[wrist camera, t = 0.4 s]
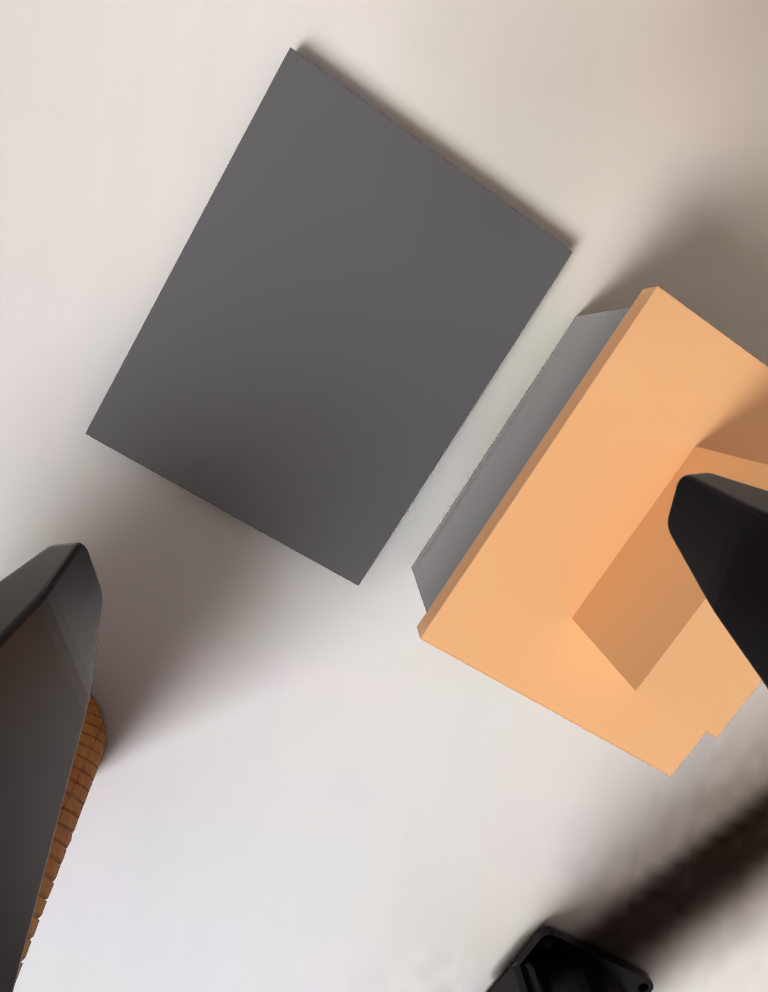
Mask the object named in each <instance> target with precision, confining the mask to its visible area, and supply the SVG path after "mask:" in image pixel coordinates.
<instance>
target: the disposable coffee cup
mask: <svg viewBox="0 0 768 992" xmlns="http://www.w3.org/2000/svg"><path fill="white" fill-rule="evenodd" d="M105 745H106V727H105V724H104V721H103V718H102V714H101V711H100V709H99V707H98V705H97V704H96V702H95V700H94V699H93V698H92V696H91V695H90V697H89V702H88V706H87V711H86V715H85V719H84V723H83V727H82V730H81V734H80V738H79V742H78V746H77V750H76V753H75V757H74V761H73V765H72V769H71V772H70V776H69V780H68V784H67V788H66V791H65V795H64V799H63V803H62V807H61V810H60V814H59V818H58V822H57V826H56V830H55V833H54V837H53V841H52V845H51V849H50V852H49V856H48V860H47V864H46V868H45V871H44V875H43V879H42V883H41V887H40V890H39V894H38V898H37V902H36V906H35V910H34V913H33V917H32V921H31V925H30V929H29V932H28V936H27V940H26V944H25V948H24V951H23V955H22V959H21V961H22V960H23V959H24V958H25V957H26V954H27V952H28V949H29V946H30V944H31V941H30V939H31V938H32V937H33V936H34V934H35V931H36V928H37V925H38V923H39V920H38V918H39V917H40V916H41V915H42V913H43V910H44V907H45V905H46V902H47V901H46V900H45V899H48V897H49V894H50V892H51V890H52V887H53V885H54V884H53V882H52V881H54V880H55V878H56V876H57V874H58V871H59V868H60V865H59V864H61V863H62V861H63V858H64V855H65V852H66V848H67V847H68V845H69V843H70V841H71V838H72V833H73V831H74V830H75V827H76V824H77V821H78V820H77V819H78V818H79V816H80V814H81V811H82V808H83V805H84V803H85V801H86V798H87V795H88V792H89V790H90V787H91V785H92V781H93V780H94V777H95V775H96V772H97V769H98V767H99V764H100V762H101V760H102V757H103V754H104V751H105ZM21 967H22V963H20V967H19V970H18V974H17V977H18V975H19V972H20V969H21ZM16 980H17V978H16Z"/></svg>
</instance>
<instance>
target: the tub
mask: <svg viewBox="0 0 768 992" xmlns="http://www.w3.org/2000/svg"><path fill="white" fill-rule="evenodd" d="M630 308H631V307H628V308H622V309H616V310H610V311H604V312H598V313H592V314H585V315H579V316H576V317H575V319H574V320H573V322H572V324H571V325H570V327H569V328H568V330H567V331H566V333H565V334H564V336H563V337H562V339H561V340H560V342H559V343H558V345H557V346H556V348H555V349H554V351H553V353H552V354H551V356H550V357H549V359H548V360H547V362H546V363H545V365H544V366H543V368H542V369H541V371H540V372H539V374H538V375H537V377H536V378H535V380H534V382H533V383H532V385H531V386H530V388H529V389H528V391H527V392H526V394H525V395H524V397H523V398H522V400H521V401H520V403H519V404H518V406H517V408H516V409H515V411H514V412H513V414H512V415H511V417H510V418H509V420H508V421H507V423H506V424H505V426H504V427H503V429H502V430H501V432H500V433H499V435H498V437H497V438H496V440H495V441H494V443H493V444H492V446H491V447H490V449H489V450H488V452H487V453H486V455H485V456H484V458H483V459H482V461H481V462H480V464H479V466H478V467H477V469H476V470H475V472H474V473H473V475H472V476H471V478H470V479H469V481H468V482H467V484H466V485H465V487H464V488H463V490H462V491H461V493H460V495H459V496H458V498H457V499H456V501H455V502H454V504H453V505H452V507H451V508H450V510H449V511H448V513H447V514H446V516H445V517H444V519H443V521H442V522H441V524H440V525H439V527H438V528H437V530H436V531H435V533H434V534H433V536H432V537H431V539H430V540H429V542H428V543H427V545H426V546H425V548H424V550H423V551H422V553H421V554H420V556H419V557H418V559H417V560H416V562H415V563H414V565H413V566H412V570H413V573H414V576H415V579H416V582H417V585H418V588H419V591H420V594H421V597H422V600H423V603H424V606H425V609H426V612H427V611H428V610H429V608H430V607H431V605H432V604H433V602H434V601H435V599H436V598H437V596H438V595H439V593H440V592H441V590H442V589H443V587H444V586H445V584H446V583H447V581H448V580H449V578H450V577H451V575H452V574H453V572H454V571H455V569H456V568H457V566H458V565H459V563H460V562H461V560H462V559H463V557H464V556H465V554H466V553H467V551H468V550H469V548H470V547H471V545H472V544H473V542H474V541H475V539H476V538H477V536H478V535H479V533H480V532H481V530H482V529H483V527H484V526H485V524H486V523H487V521H488V520H489V518H490V517H491V515H492V514H493V512H494V511H495V509H496V508H497V506H498V505H499V503H500V502H501V500H502V499H503V497H504V496H505V494H506V493H507V491H508V490H509V488H510V487H511V485H512V484H513V482H514V481H515V479H516V478H517V476H518V475H519V474H520V472H521V471H522V469H523V468H524V466H525V465H526V463H527V462H528V460H529V459H530V457H531V456H532V454H533V453H534V451H535V450H536V448H537V447H538V445H539V444H540V442H541V441H542V439H543V438H544V436H545V435H546V433H547V432H548V430H549V429H550V427H551V426H552V424H553V423H554V421H555V420H556V418H557V417H558V415H559V414H560V412H561V411H562V409H563V408H564V406H565V405H566V403H567V402H568V400H569V399H570V397H571V396H572V394H573V393H574V391H575V390H576V388H577V387H578V385H579V384H580V382H581V381H582V379H583V378H584V376H585V375H586V373H587V372H588V370H589V369H590V367H591V366H592V364H593V363H594V361H595V360H596V358H597V357H598V355H599V354H600V352H601V351H602V349H603V348H604V346H605V345H606V343H607V342H608V340H609V339H610V337H611V336H612V334H613V333H614V332H615V330H616V329H617V327H618V326H619V324H620V323H621V321H622V320H623V318H624V317H625V315H626V314H627V312H628V311H629V309H630Z"/></svg>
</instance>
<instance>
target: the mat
mask: <svg viewBox="0 0 768 992" xmlns="http://www.w3.org/2000/svg"><path fill="white" fill-rule="evenodd" d="M571 254H572V251H571V250H569V249H568V248H567V247H565V246H564V245H562V244H561V243H560V242H558V241H557V240H556V239H554V238H553V237H551V236H550V235H549V234H547V233H546V232H545V231H543V230H542V229H540V228H539V227H538V226H536V225H535V224H534V223H532V222H531V221H529V220H528V219H527V218H525V217H524V216H522V215H521V214H520V213H518V212H517V211H516V210H514V209H513V208H511V207H510V206H509V205H507V204H506V203H505V202H503V201H502V200H500V199H499V198H498V197H496V196H495V195H493V194H492V193H491V192H489V191H488V190H487V189H485V188H484V187H482V186H481V185H480V184H478V183H477V182H476V181H474V180H473V179H471V178H470V177H469V176H467V175H466V174H465V173H463V172H462V171H460V170H459V169H458V168H456V167H455V166H453V165H452V164H451V163H449V162H448V161H447V160H445V159H444V158H442V157H441V156H440V155H438V154H437V153H436V152H434V151H433V150H431V149H430V148H429V147H427V146H426V145H425V144H423V143H422V142H420V141H419V140H418V139H416V138H415V137H413V136H412V135H411V134H409V133H408V132H407V131H405V130H404V129H402V128H401V127H400V126H398V125H397V124H396V123H394V122H393V121H391V120H390V119H389V118H387V117H386V116H384V115H383V114H382V113H380V112H379V111H378V110H376V109H375V108H373V107H372V106H371V105H369V104H368V103H367V102H365V101H364V100H362V99H361V98H360V97H358V96H357V95H356V94H354V93H353V92H351V91H350V90H349V89H347V88H346V87H344V86H343V85H342V84H340V83H339V82H338V81H336V80H335V79H333V78H332V77H331V76H329V75H328V74H327V73H325V72H324V71H322V70H321V69H320V68H318V67H317V66H315V65H314V64H313V63H311V62H310V61H309V60H307V59H306V58H304V57H303V56H302V55H300V54H299V53H298V52H296V51H295V50H293V49H292V48H291V47H290V49H289V51H288V53H287V55H286V56H285V58H284V60H283V62H282V64H281V66H280V68H279V70H278V72H277V73H276V75H275V77H274V79H273V81H272V83H271V85H270V87H269V88H268V90H267V92H266V94H265V96H264V98H263V100H262V102H261V104H260V105H259V107H258V109H257V111H256V113H255V115H254V117H253V119H252V121H251V122H250V124H249V126H248V128H247V130H246V132H245V134H244V136H243V138H242V139H241V141H240V143H239V145H238V147H237V149H236V151H235V153H234V155H233V156H232V158H231V160H230V162H229V164H228V166H227V168H226V170H225V172H224V173H223V175H222V177H221V179H220V181H219V183H218V185H217V187H216V188H215V190H214V192H213V194H212V196H211V198H210V200H209V202H208V204H207V205H206V207H205V209H204V211H203V213H202V215H201V217H200V219H199V221H198V222H197V224H196V226H195V228H194V230H193V232H192V234H191V236H190V238H189V239H188V241H187V243H186V245H185V247H184V249H183V251H182V253H181V255H180V256H179V258H178V260H177V262H176V264H175V266H174V268H173V270H172V272H171V273H170V275H169V277H168V279H167V281H166V283H165V285H164V287H163V288H162V290H161V292H160V294H159V296H158V298H157V300H156V302H155V304H154V305H153V307H152V309H151V311H150V313H149V315H148V317H147V319H146V321H145V322H144V324H143V326H142V328H141V330H140V332H139V334H138V336H137V338H136V339H135V341H134V343H133V345H132V347H131V349H130V351H129V353H128V355H127V356H126V358H125V360H124V362H123V364H122V366H121V368H120V370H119V372H118V373H117V375H116V377H115V379H114V381H113V383H112V385H111V387H110V388H109V390H108V392H107V394H106V396H105V398H104V400H103V402H102V404H101V405H100V407H99V409H98V411H97V413H96V415H95V417H94V419H93V421H92V422H91V424H90V426H89V428H88V430H87V432H86V434H87V435H89V436H91V437H92V438H94V439H96V440H98V441H100V442H101V443H103V444H105V445H107V446H108V447H110V448H112V449H114V450H116V451H117V452H119V453H121V454H123V455H125V456H126V457H128V458H130V459H132V460H134V461H135V462H137V463H139V464H141V465H143V466H144V467H146V468H148V469H150V470H152V471H153V472H155V473H157V474H159V475H161V476H162V477H164V478H166V479H168V480H170V481H171V482H173V483H175V484H177V485H179V486H180V487H182V488H184V489H186V490H188V491H189V492H191V493H193V494H195V495H197V496H198V497H200V498H202V499H204V500H206V501H207V502H209V503H211V504H213V505H214V506H216V507H218V508H220V509H222V510H223V511H225V512H227V513H229V514H231V515H232V516H234V517H236V518H238V519H240V520H241V521H243V522H245V523H247V524H249V525H250V526H252V527H254V528H256V529H258V530H259V531H261V532H263V533H265V534H267V535H268V536H270V537H272V538H274V539H276V540H277V541H279V542H281V543H283V544H285V545H286V546H288V547H290V548H292V549H294V550H295V551H297V552H299V553H301V554H303V555H304V556H306V557H308V558H310V559H312V560H313V561H315V562H317V563H319V564H320V565H322V566H324V567H326V568H328V569H329V570H331V571H333V572H335V573H337V574H338V575H340V576H342V577H344V578H346V579H347V580H349V581H351V582H353V583H355V584H356V585H359V584H360V582H361V581H362V579H363V578H364V576H365V575H366V573H367V571H368V570H369V568H370V567H371V565H372V564H373V562H374V561H375V559H376V557H377V556H378V554H379V553H380V551H381V550H382V548H383V547H384V545H385V543H386V542H387V540H388V539H389V537H390V536H391V534H392V532H393V531H394V529H395V528H396V526H397V525H398V523H399V522H400V520H401V518H402V517H403V515H404V514H405V512H406V511H407V509H408V508H409V506H410V504H411V503H412V501H413V500H414V498H415V497H416V495H417V494H418V492H419V490H420V489H421V487H422V486H423V484H424V483H425V481H426V480H427V478H428V476H429V475H430V473H431V472H432V470H433V469H434V467H435V465H436V464H437V462H438V461H439V459H440V458H441V456H442V455H443V453H444V451H445V450H446V448H447V447H448V445H449V444H450V442H451V441H452V439H453V437H454V436H455V434H456V433H457V431H458V430H459V428H460V427H461V425H462V423H463V422H464V420H465V419H466V417H467V416H468V414H469V413H470V411H471V409H472V408H473V406H474V405H475V403H476V402H477V400H478V398H479V397H480V395H481V394H482V392H483V391H484V389H485V388H486V386H487V384H488V383H489V381H490V380H491V378H492V377H493V375H494V374H495V372H496V370H497V369H498V367H499V366H500V364H501V363H502V361H503V360H504V358H505V356H506V355H507V353H508V352H509V350H510V349H511V347H512V346H513V344H514V342H515V341H516V339H517V338H518V336H519V335H520V333H521V331H522V330H523V328H524V327H525V325H526V324H527V322H528V321H529V319H530V317H531V316H532V314H533V313H534V311H535V310H536V308H537V307H538V305H539V303H540V302H541V300H542V299H543V297H544V296H545V294H546V293H547V291H548V289H549V288H550V286H551V285H552V283H553V282H554V280H555V279H556V277H557V275H558V274H559V272H560V271H561V269H562V268H563V266H564V264H565V263H566V261H567V260H568V258H569V257H570V255H571Z"/></svg>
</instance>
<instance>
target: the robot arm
mask: <svg viewBox="0 0 768 992" xmlns="http://www.w3.org/2000/svg"><path fill="white" fill-rule="evenodd" d="M668 529H669V532H670V535H671V537H672V538H673V540H674V542H675V544H676V546H677V547H678V549H679V551H680V553H681V554H682V556H683V558H684V560H685V562H686V563H687V565H688V567H689V569H690V571H691V572H692V574H693V576H694V578H695V580H696V581H697V583H698V585H699V587H700V589H701V590H702V592H703V594H704V596H705V598H706V599H707V601H708V603H709V604H710V606H711V608H712V609H713V611H714V612H715V614H716V615H717V617H718V618H719V620H720V621H721V623H722V624H723V626H724V627H725V629H726V630H727V631H728V633H729V634H730V636H731V637H732V639H733V640H734V641H735V643H736V644H737V646H738V647H739V648H740V650H741V651H742V653H743V654H744V656H745V657H746V658H747V660H748V661H749V663H750V664H751V666H752V667H753V668H754V670H755V671H756V673H757V674H758V676H759V677H760V678H761V680H762V681H763V683H764V684H765V685H766V687H767V688H768V491H766V490H763V489H760V488H757V487H754V486H751V485H747V484H744V483H741V482H738V481H735V480H731V479H728V478H725V477H722V476H719V475H715V474H712V473H697V474H689V475H685V476H683V477H681V478H680V480H679V481H678V483H677V486H676V490H675V494H674V497H673V501H672V505H671V508H670V512H669V516H668ZM101 608H102V593H101V588H100V585H99V582H98V579H97V576H96V573H95V570H94V567H93V564H92V562H91V559H90V556H89V553H88V551H87V549H86V547H85V546H84V545H83V544H81V543H68V544H59V545H52V546H50V547H48V548H46V549H45V550H44V551H42V552H41V553H39V554H38V555H37V556H35V557H34V558H32V559H31V560H30V561H28V562H27V563H25V564H24V565H23V566H21V567H20V568H18V569H17V570H16V571H14V572H13V573H11V574H10V575H9V576H7V577H6V578H4V579H3V580H2V581H0V992H13V990H14V986H15V982H16V978H17V974H18V970H19V967H20V963H21V959H22V955H23V951H24V948H25V944H26V940H27V936H28V932H29V929H30V925H31V921H32V917H33V913H34V910H35V906H36V902H37V898H38V894H39V890H40V887H41V883H42V879H43V875H44V871H45V868H46V864H47V860H48V856H49V852H50V849H51V845H52V841H53V837H54V833H55V830H56V826H57V822H58V818H59V814H60V810H61V807H62V803H63V799H64V795H65V791H66V788H67V784H68V780H69V776H70V772H71V769H72V765H73V761H74V757H75V753H76V750H77V746H78V742H79V738H80V734H81V730H82V727H83V723H84V719H85V715H86V711H87V706H88V702H89V697H90V691H91V685H92V677H93V670H94V662H95V654H96V647H97V639H98V631H99V624H100V616H101ZM652 989H653V983H652V981H651V979H650V977H649V975H648V973H646V972H645V971H643V970H641V969H639V968H637V967H635V966H632V965H630V964H628V963H626V962H624V961H622V960H620V959H618V958H615V957H613V956H611V955H609V954H607V953H605V952H603V951H601V950H598V949H596V948H594V947H592V946H590V945H588V944H586V943H584V942H581V941H579V940H577V939H575V938H573V937H571V936H569V935H567V934H564V933H562V932H560V931H558V930H556V929H554V928H551V927H543V928H540V929H539V930H538V931H537V932H536V933H535V935H534V936H533V937H532V938H531V940H530V941H529V942H528V943H527V945H526V946H525V947H524V949H523V950H522V951H521V952H520V954H519V955H518V956H517V957H516V959H515V960H514V961H513V963H512V964H511V965H510V966H509V968H508V969H507V970H506V971H505V973H504V974H503V975H502V977H501V978H500V979H499V980H498V982H497V983H496V984H495V986H494V987H493V988H492V989H491V991H490V992H651V991H652Z"/></svg>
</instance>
